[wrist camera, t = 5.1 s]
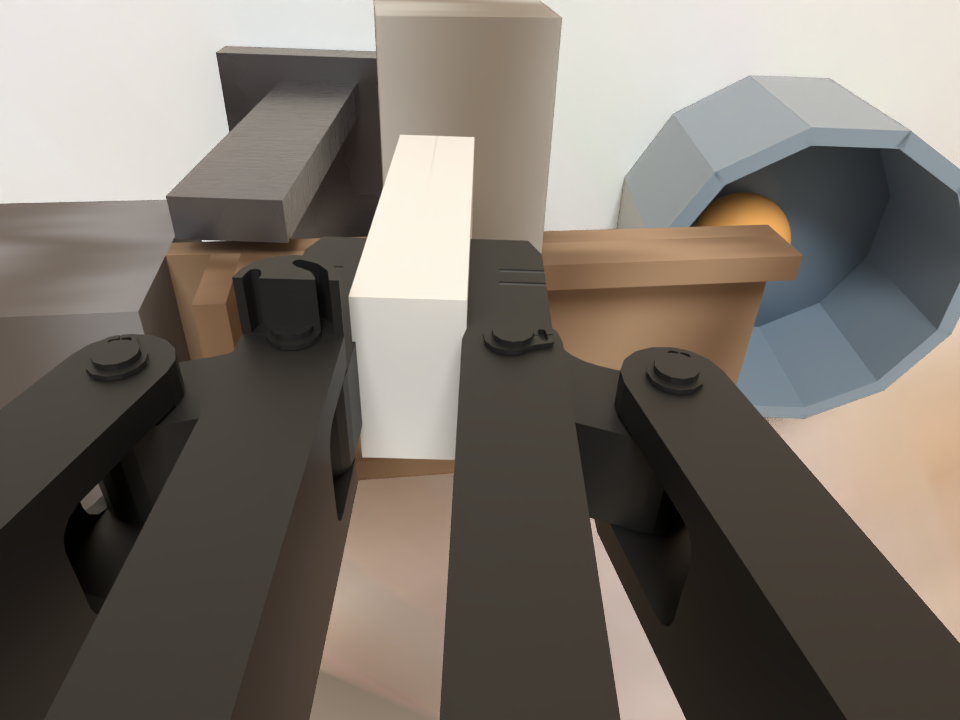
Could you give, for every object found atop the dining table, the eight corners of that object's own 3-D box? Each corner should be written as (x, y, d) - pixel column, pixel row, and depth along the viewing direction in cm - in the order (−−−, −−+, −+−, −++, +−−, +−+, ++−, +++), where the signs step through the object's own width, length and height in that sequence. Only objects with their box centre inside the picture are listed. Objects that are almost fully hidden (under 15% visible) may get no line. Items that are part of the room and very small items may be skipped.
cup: (602, 325, 36) (622, 412, 31) (640, 71, 29) (675, 121, 24) (843, 333, 36) (909, 422, 31) (938, 82, 29) (1046, 135, 24)
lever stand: (269, 320, 36) (169, 519, 25) (225, 46, 29) (58, 157, 18) (426, 325, 36) (396, 527, 25) (423, 53, 29) (377, 169, 18)
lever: (34, 400, 26) (-55, 549, 21) (-142, -32, 18) (-366, 17, 13) (684, 363, 30) (762, 484, 24) (773, -17, 22) (922, 27, 16)
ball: (669, 285, 31) (760, 314, 30) (686, 198, 29) (786, 223, 27) (703, 253, 34) (788, 278, 32) (721, 171, 32) (814, 193, 30)
